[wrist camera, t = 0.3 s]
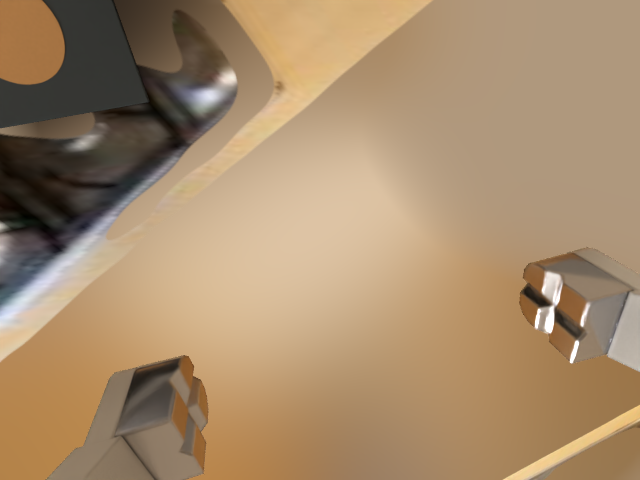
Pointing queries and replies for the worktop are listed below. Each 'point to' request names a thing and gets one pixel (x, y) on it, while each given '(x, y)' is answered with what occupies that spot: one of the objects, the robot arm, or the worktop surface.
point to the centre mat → (64, 60)
